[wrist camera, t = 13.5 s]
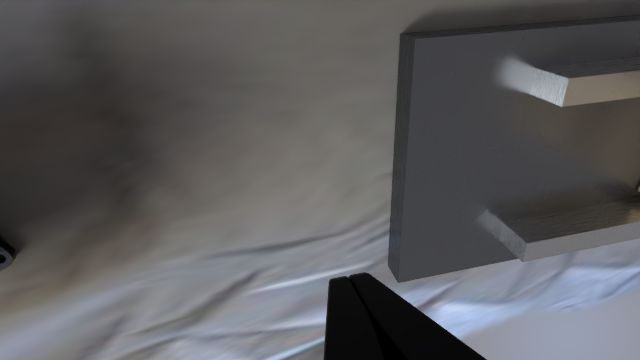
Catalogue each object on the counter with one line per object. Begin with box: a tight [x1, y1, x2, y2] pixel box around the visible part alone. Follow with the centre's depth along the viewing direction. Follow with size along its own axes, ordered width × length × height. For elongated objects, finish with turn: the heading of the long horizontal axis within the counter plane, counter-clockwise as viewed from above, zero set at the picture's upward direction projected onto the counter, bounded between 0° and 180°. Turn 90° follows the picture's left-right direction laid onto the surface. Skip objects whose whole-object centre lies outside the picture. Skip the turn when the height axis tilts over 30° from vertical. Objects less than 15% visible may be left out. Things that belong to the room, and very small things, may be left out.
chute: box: [388, 15, 640, 283], centre depth 21 cm, size 22×13×4 cm, turn 92°
